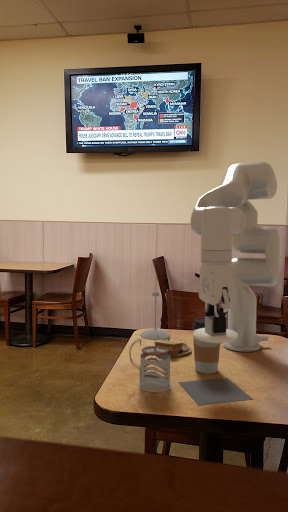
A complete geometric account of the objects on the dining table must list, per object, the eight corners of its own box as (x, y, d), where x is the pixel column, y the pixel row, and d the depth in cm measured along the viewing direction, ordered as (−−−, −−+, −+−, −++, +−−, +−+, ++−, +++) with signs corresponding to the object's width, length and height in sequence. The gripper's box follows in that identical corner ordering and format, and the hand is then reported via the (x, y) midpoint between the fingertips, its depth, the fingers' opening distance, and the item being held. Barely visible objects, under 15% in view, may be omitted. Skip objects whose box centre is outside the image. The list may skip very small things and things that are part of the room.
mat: (226, 379, 105) (226, 377, 105) (253, 401, 91) (253, 399, 91) (178, 384, 101) (178, 382, 101) (198, 407, 88) (198, 405, 88)
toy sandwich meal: (198, 351, 130) (198, 338, 130) (174, 361, 120) (174, 346, 120) (169, 344, 139) (169, 331, 138) (144, 353, 129) (144, 339, 128)
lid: (225, 329, 103) (225, 311, 102) (246, 341, 92) (246, 321, 92) (186, 332, 100) (187, 314, 100) (203, 344, 90) (203, 324, 89)
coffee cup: (220, 378, 106) (221, 324, 105) (190, 375, 108) (191, 322, 107) (221, 367, 114) (221, 317, 113) (192, 365, 116) (193, 316, 115)
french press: (175, 394, 95) (176, 294, 93) (128, 394, 95) (128, 293, 93) (172, 379, 104) (173, 288, 103) (130, 379, 105) (130, 288, 103)
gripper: (189, 254, 102) (189, 322, 103) (216, 260, 86) (215, 340, 87) (215, 254, 104) (215, 320, 105) (247, 259, 87) (245, 338, 89)
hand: (215, 329), depth 96 cm, fingers closed on lid, 4 cm apart
